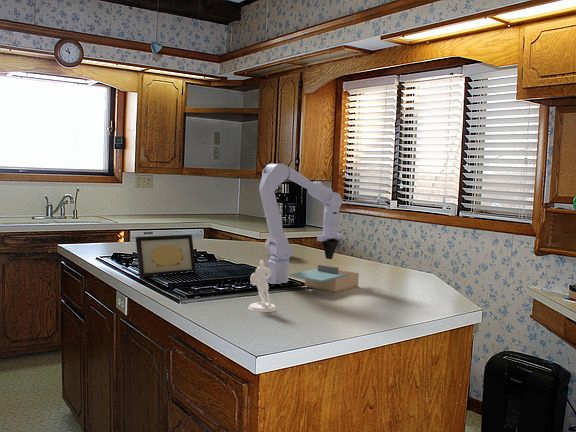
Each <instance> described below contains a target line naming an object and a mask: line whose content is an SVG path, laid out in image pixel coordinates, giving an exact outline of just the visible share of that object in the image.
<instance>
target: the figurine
mask: <svg viewBox="0 0 576 432" xmlns="http://www.w3.org/2000/svg"><path fill="white" fill-rule="evenodd" d="M265 263H266V262H264V259H260V260H259V266H257V267H256V269H255V272H253V273H251V275H250V277H249V279H250V284H251V285H252V286H256V288H257V290H258V291H257V294H258V295H259V296H260V298H261V302H259V301H258V302H253V303H250V304H249V306H248V308H247V309H248V310H249V311H252V312H257V313H258V312H259V313H271V312H276V311H277V310H278V307H277V306H276V305H275V304H273V303H272V301H271V298H270V294H269V288H270V286H269V284H268V282H267V281H266V279H269V277H270V276H271V270H269V268H266V267H264V265H265ZM265 273H267V274H268V276H266V277H265ZM265 294H266V295H265ZM266 299H267V301H266Z"/></svg>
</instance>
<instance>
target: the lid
mask: <svg viewBox="0 0 576 432" xmlns="http://www.w3.org/2000/svg"><path fill="white" fill-rule="evenodd" d="M338 270H340V269H339V267H335V266H331V265H330V266H329V265H324V264H317V269H316V268H314V269H309V270H304V271H300V272H294V273H290V274H289V276H288V277H292V278H296V279H297V278H298V279H303V280H305V279H307V280H312V281H318V282H324V281H328V280H332V279H337V278H341V277H345V276H347V274H341V273H338Z"/></svg>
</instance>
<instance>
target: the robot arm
mask: <svg viewBox="0 0 576 432" xmlns="http://www.w3.org/2000/svg"><path fill="white" fill-rule="evenodd" d="M261 174H262V175H261V180H260V182H259V187H258V188H259V189H258V191H259V194H260V199H261V204H262V208H263V212H264V216H265V221H266V224H267V225H266V226H267V229H268V237H269V238H268V237H267V238H268V241H269V245H268V251H269V253H270V254H271V255H269V260H268V261H266V262H264V263H265V265H264V267H266V268H269V270H271V276H270V277H269V279H266V281H267V282H268V283H270V284H281V283H287V282H288V281H289V277H290V276H289V271H290V258H291V257H292V255H293V247H292V245H291V244H290V243H289V240H288V237H287V236H286V234H285V233H284V228H283V222H282V223H281V219H280V216H281V215H280V211H279V206H278V202H277V197H276V194H275V191H276V190H277V189H278V187H279V186H280V184H282V183H283V182H285V181H287V180H288V181H292V182H294V183H295V184H297V185H298V186H301V187H302V188H304V189H306V190H307V193H308V195H309V196H311V197H313V198H314V199H316V200H317V201H319V202H321V203H322V205H323V206H324V207H323V223H322V224H323V225H322V234H320V235H317V237H316V241H317V242H320V243H321V245H322V247H323V250H324V251H323V252H324V254H325V255H324V256H325V259H327V260H333V257H334V254H335V252H336V249H337V246H338V244H340V240H343V233H339V224H340V223H339V221H340V220H339V219H340V208H341V206H342V204H343V201H344V200H343V199H342V196H341V194H340V193H338V192H334V191H333V189H332V188H330V187H327V186H325V185H324V183H323V182H322V181H317V180H316V181H311V180H310V179H309V178H307V177H306V176H304V175H303V174H302V173H300V172H298V171H296V170H295V169H294V168H292V167H290V166H287V165H286V164H284V163H274V162H273V163H268V164H267V165H266V166H265V167H264V168H263V170H262V172H261ZM266 276H268V274H267V273H265V277H266Z"/></svg>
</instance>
